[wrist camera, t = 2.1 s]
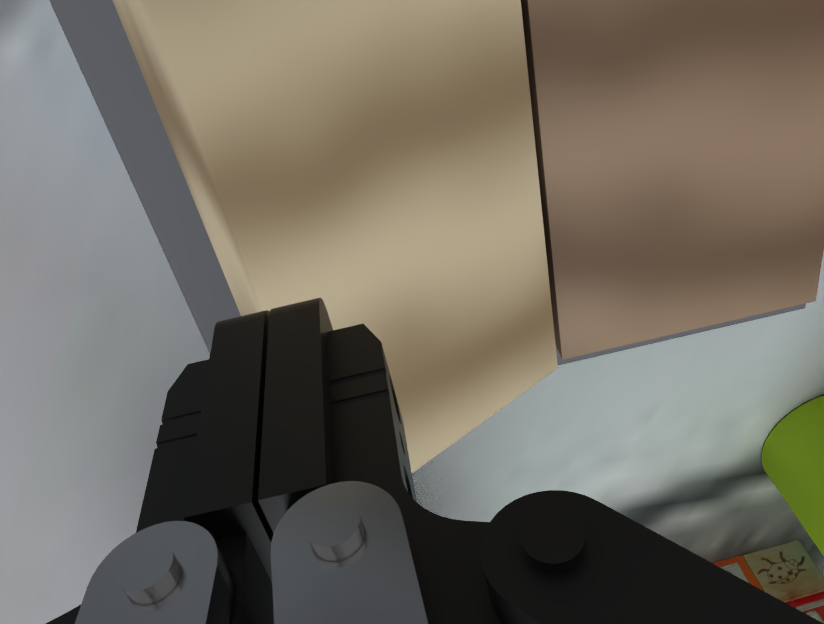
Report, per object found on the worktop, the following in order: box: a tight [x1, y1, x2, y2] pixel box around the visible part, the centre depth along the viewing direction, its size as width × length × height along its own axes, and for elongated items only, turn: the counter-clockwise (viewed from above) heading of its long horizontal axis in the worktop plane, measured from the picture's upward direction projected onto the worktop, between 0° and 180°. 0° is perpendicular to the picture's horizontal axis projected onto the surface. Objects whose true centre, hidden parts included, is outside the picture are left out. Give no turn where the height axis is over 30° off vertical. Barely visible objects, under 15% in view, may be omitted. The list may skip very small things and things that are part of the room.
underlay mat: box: [50, 0, 806, 365], centre depth 21 cm, size 26×22×1 cm
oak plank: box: [113, 0, 558, 473], centre depth 18 cm, size 22×9×2 cm, turn 11°
